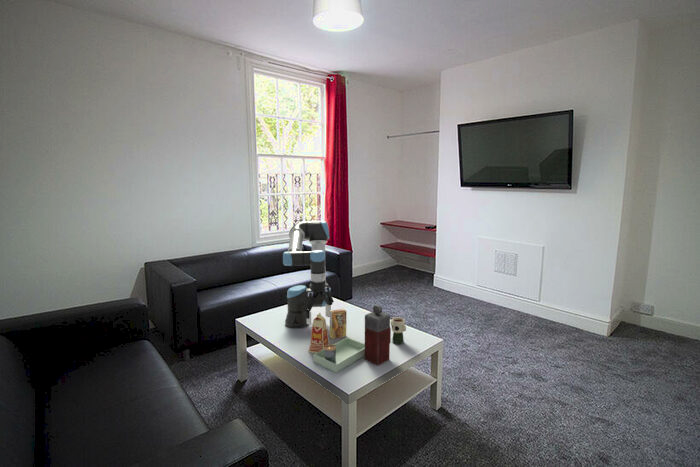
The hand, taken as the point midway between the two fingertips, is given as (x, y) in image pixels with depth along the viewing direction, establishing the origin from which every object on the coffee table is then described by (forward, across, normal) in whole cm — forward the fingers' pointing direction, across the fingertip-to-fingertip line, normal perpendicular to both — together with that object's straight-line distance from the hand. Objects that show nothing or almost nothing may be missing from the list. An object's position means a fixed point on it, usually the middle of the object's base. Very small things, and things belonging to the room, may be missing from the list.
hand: (318, 320), depth 179 cm
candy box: (+16, +18, +3) cm, 25 cm away
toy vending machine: (+16, +13, -29) cm, 36 cm away
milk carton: (+16, 0, 0) cm, 16 cm away
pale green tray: (+16, +2, -15) cm, 22 cm away
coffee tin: (+16, -7, -15) cm, 23 cm away
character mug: (+16, +34, -27) cm, 46 cm away
